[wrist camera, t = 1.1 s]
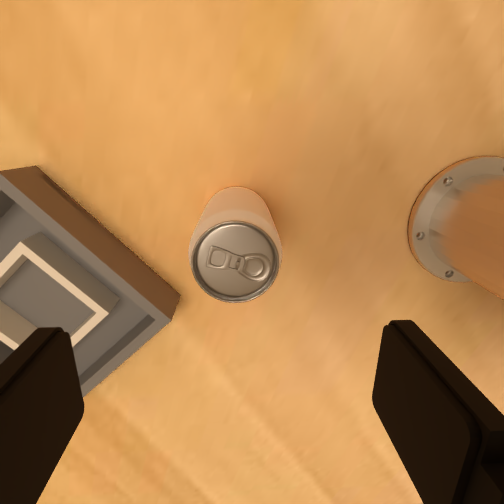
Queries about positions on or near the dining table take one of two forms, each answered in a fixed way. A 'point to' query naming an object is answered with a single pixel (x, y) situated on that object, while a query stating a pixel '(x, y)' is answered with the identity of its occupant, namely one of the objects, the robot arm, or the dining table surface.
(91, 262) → the box
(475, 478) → the robot arm
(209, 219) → the can
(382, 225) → the dining table surface
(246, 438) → the dining table surface
